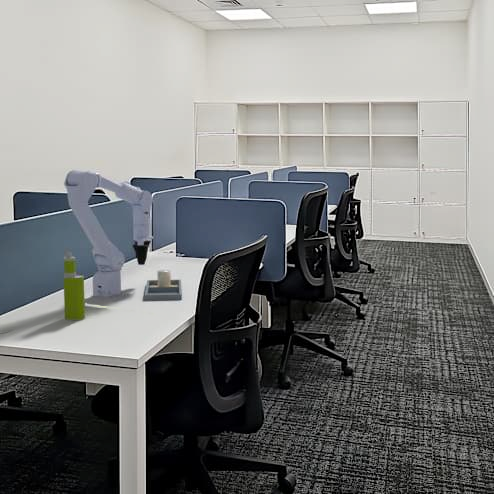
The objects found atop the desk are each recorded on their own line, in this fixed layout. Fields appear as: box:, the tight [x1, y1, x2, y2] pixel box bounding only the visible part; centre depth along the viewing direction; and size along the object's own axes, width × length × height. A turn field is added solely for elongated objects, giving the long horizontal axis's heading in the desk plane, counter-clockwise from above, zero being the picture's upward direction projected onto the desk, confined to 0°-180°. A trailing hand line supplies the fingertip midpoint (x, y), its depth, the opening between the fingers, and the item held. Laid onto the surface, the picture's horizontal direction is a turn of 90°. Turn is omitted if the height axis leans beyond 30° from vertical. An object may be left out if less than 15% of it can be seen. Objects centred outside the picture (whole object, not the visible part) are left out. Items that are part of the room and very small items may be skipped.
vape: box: [62, 250, 86, 321], centre depth 201 cm, size 4×6×20 cm, turn 81°
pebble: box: [156, 269, 172, 287], centre depth 239 cm, size 5×5×6 cm
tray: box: [144, 279, 183, 301], centre depth 234 cm, size 24×12×2 cm, turn 6°
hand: (142, 262), depth 241 cm, fingers open, 7 cm apart
